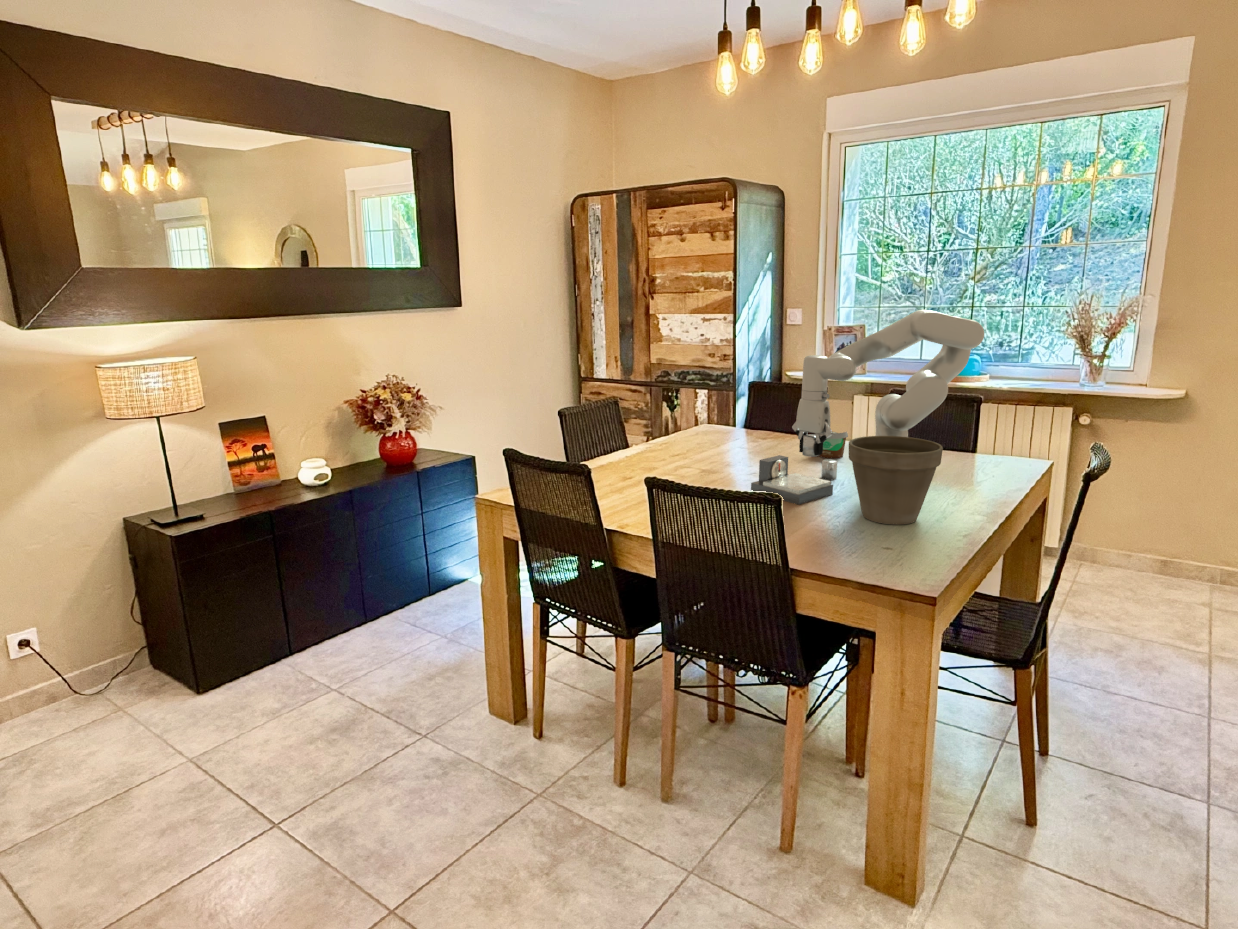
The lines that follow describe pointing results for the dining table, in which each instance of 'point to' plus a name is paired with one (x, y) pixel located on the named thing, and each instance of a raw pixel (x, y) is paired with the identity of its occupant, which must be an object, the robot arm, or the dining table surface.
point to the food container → (834, 446)
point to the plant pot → (893, 475)
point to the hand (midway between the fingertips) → (810, 452)
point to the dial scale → (789, 482)
